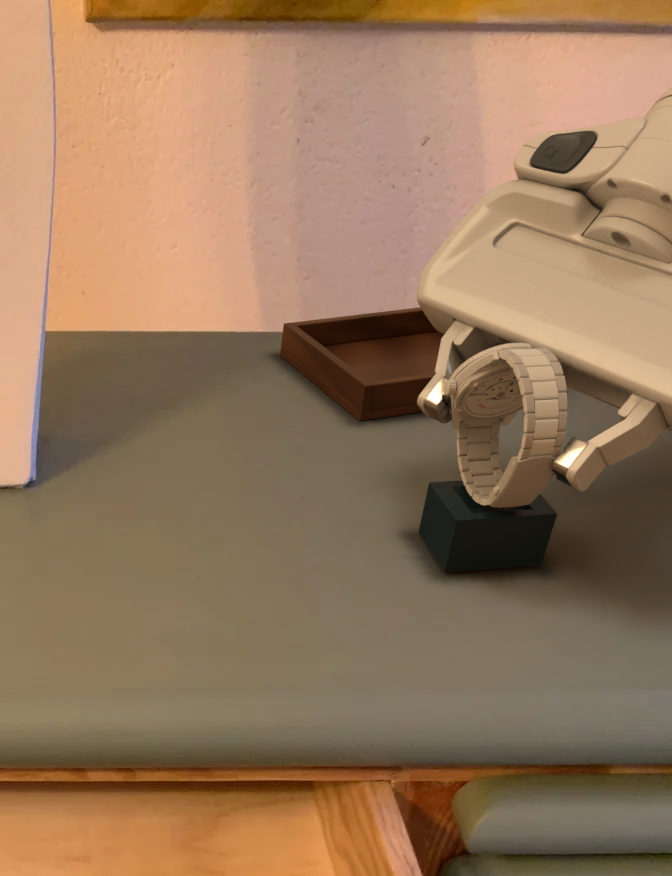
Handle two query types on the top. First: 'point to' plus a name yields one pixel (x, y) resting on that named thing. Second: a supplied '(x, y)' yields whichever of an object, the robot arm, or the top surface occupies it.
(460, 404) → the watch
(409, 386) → the tray
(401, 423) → the top surface
